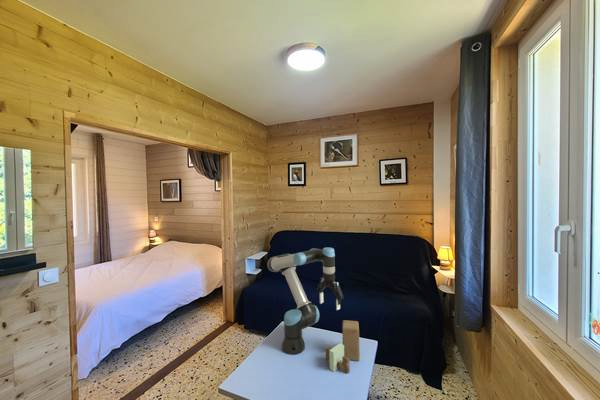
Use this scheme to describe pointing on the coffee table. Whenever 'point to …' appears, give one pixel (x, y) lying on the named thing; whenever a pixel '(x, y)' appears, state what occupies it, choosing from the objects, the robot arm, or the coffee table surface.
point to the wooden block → (351, 339)
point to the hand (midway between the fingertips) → (329, 306)
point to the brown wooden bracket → (341, 365)
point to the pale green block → (336, 356)
